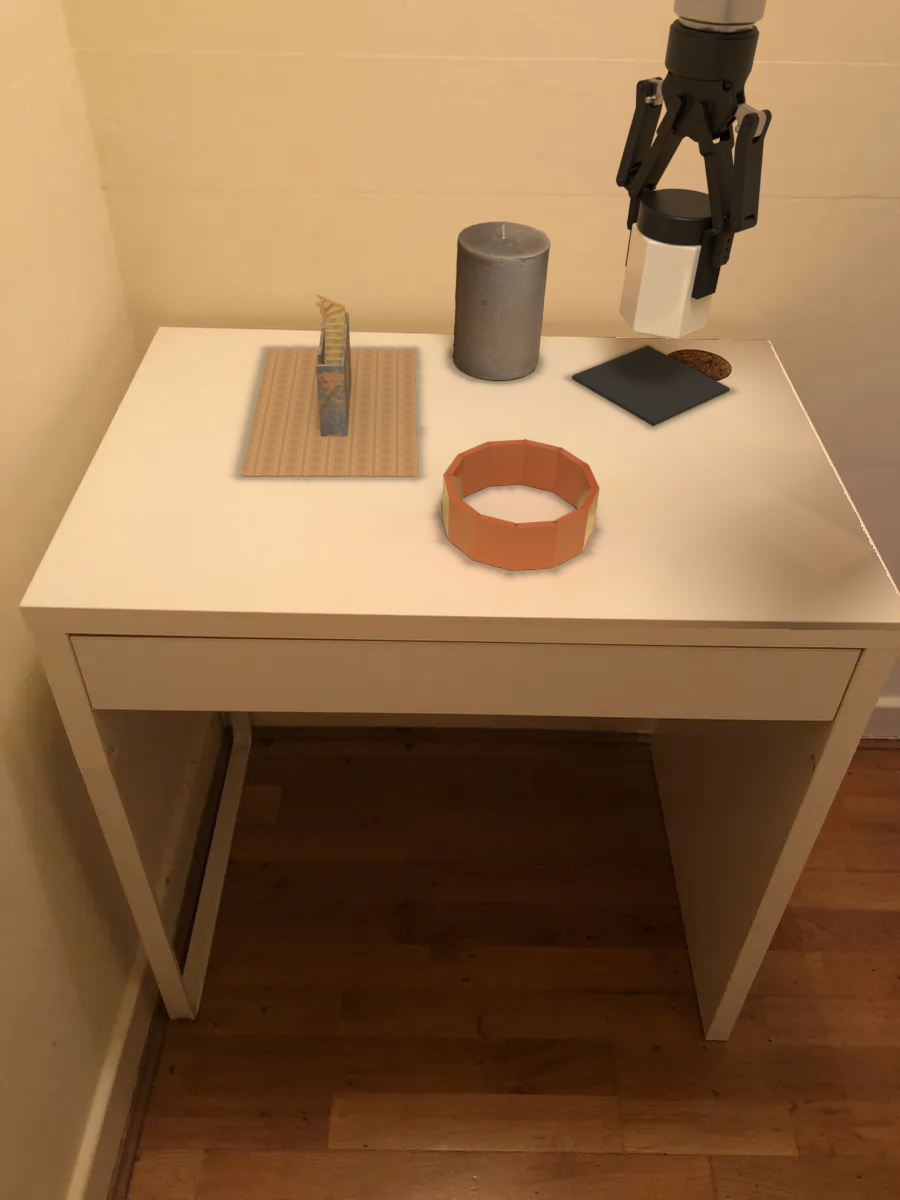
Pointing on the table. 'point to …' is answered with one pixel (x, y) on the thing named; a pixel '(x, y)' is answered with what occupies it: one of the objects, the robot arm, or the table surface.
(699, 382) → the mat
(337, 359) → the ruin model on sheet
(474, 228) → the pillar candle
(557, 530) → the ring
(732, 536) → the table surface
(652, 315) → the jar
